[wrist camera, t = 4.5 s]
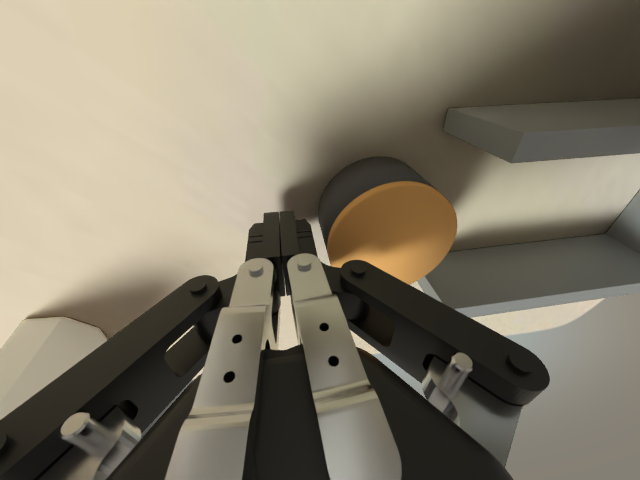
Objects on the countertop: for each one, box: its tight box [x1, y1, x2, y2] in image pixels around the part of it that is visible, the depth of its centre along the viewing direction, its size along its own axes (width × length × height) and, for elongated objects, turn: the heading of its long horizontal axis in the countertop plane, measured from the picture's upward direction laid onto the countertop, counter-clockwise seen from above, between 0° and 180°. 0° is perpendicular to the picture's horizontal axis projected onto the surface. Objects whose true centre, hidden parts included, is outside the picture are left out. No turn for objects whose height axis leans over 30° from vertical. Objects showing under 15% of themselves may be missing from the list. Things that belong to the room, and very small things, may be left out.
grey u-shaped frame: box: [417, 98, 640, 318], centre depth 14 cm, size 10×16×5 cm, turn 91°
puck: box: [318, 157, 457, 285], centre depth 13 cm, size 6×6×4 cm
